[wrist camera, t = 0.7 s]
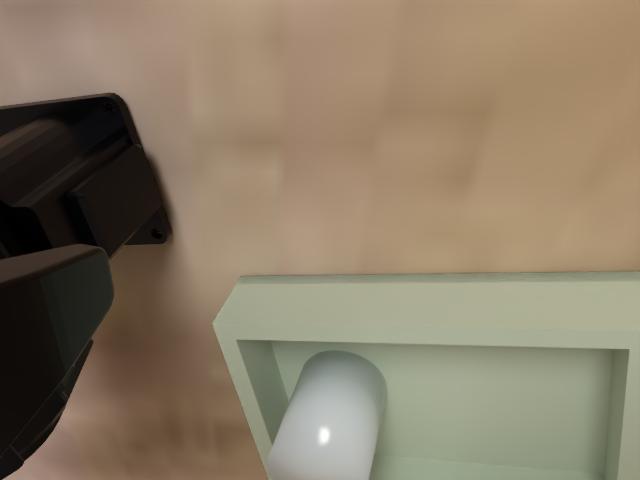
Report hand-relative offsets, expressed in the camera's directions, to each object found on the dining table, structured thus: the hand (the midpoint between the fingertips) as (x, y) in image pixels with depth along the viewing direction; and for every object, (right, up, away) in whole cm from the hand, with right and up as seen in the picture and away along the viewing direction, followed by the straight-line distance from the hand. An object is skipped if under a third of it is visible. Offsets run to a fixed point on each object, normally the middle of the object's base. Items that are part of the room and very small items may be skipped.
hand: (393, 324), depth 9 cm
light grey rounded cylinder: (0, -5, +19) cm, 19 cm away
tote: (+4, -5, +18) cm, 19 cm away
